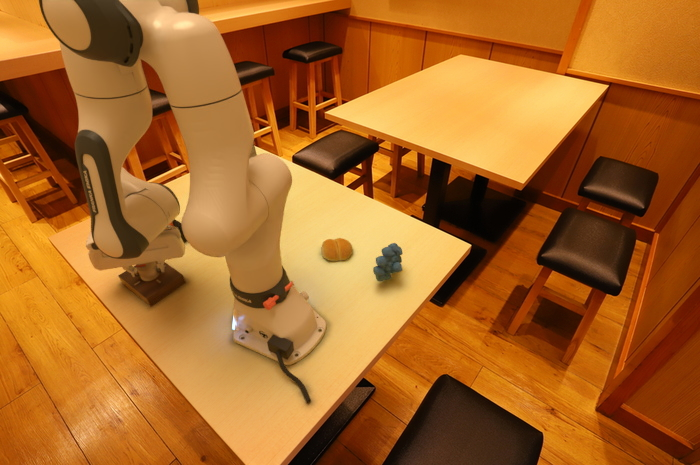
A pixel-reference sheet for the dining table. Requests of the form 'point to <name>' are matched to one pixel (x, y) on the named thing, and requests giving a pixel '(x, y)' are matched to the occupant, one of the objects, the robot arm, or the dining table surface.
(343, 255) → the bread roll
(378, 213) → the dining table surface
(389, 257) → the grapes
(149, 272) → the dial knob
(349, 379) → the dining table surface
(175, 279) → the dial panel
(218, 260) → the dining table surface
